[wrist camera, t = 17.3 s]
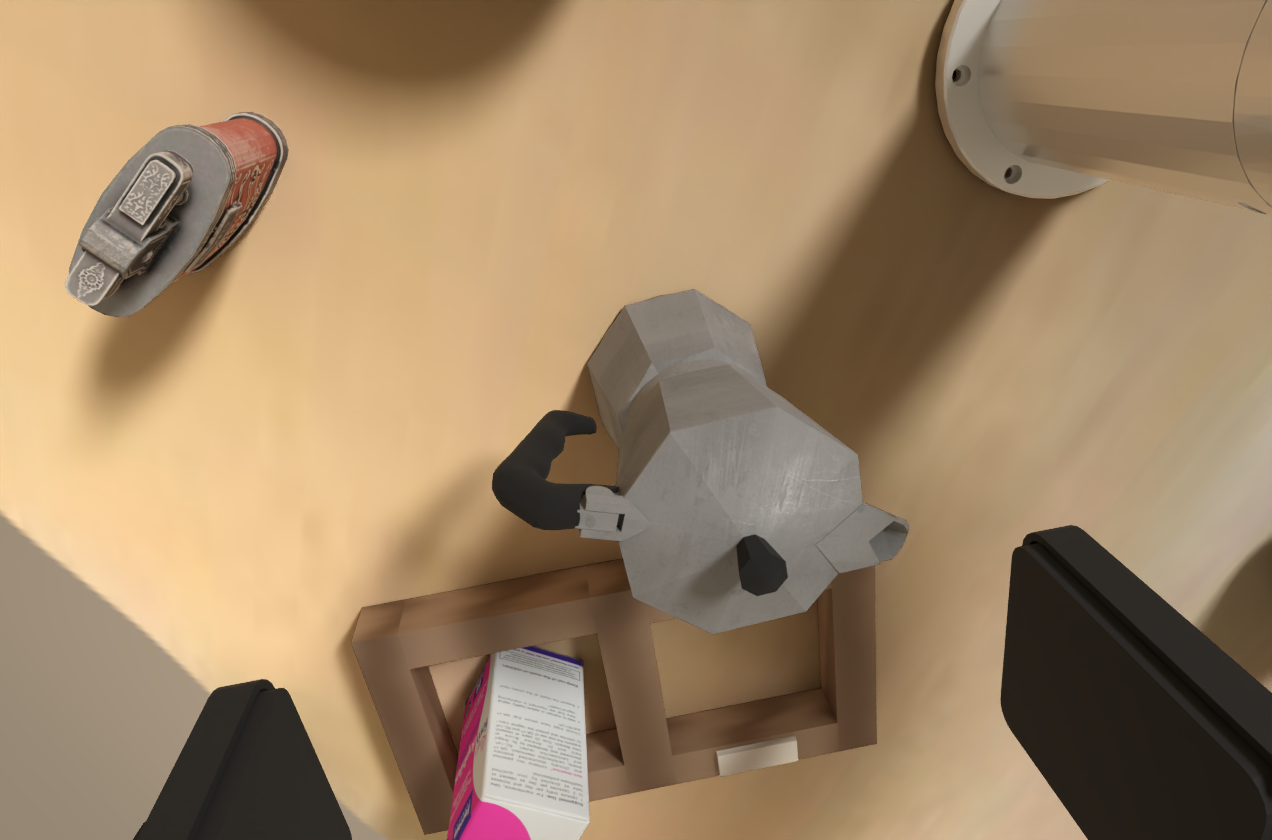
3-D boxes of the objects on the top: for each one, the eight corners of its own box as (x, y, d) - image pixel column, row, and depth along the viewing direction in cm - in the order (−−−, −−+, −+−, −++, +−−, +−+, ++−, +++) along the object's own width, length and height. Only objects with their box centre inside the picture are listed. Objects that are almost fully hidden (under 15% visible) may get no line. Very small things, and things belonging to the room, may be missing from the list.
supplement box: (494, 633, 47) (482, 796, 37) (585, 659, 49) (598, 822, 38) (460, 703, 49) (440, 877, 39) (548, 725, 51) (552, 898, 40)
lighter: (208, 284, 37) (102, 359, 28) (138, 236, 35) (3, 298, 26) (307, 148, 35) (227, 181, 26) (236, 92, 34) (127, 106, 24)
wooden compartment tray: (854, 515, 46) (877, 547, 43) (859, 708, 53) (879, 748, 50) (361, 607, 45) (349, 647, 42) (430, 794, 52) (423, 840, 49)
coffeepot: (816, 305, 41) (1005, 472, 24) (770, 465, 44) (907, 703, 28) (516, 258, 38) (503, 411, 22) (494, 434, 42) (469, 677, 25)
